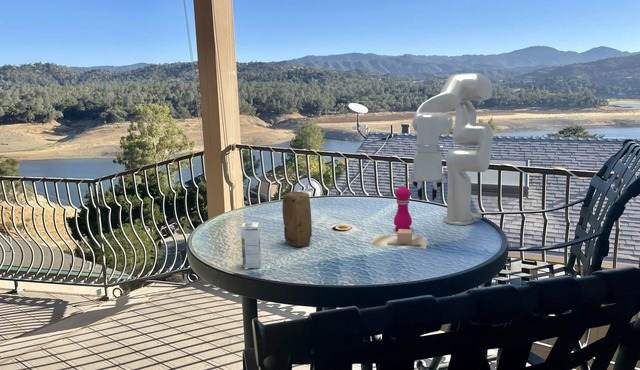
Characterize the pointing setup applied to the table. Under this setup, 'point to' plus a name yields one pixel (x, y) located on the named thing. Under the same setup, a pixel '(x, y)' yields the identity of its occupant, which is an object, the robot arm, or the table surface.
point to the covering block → (404, 236)
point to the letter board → (392, 242)
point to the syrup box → (251, 245)
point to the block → (297, 218)
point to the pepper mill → (402, 209)
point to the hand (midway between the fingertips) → (427, 199)
